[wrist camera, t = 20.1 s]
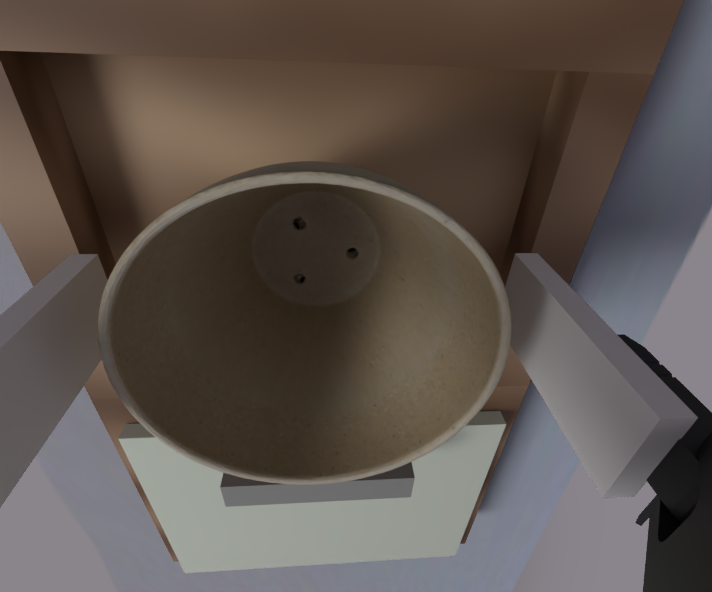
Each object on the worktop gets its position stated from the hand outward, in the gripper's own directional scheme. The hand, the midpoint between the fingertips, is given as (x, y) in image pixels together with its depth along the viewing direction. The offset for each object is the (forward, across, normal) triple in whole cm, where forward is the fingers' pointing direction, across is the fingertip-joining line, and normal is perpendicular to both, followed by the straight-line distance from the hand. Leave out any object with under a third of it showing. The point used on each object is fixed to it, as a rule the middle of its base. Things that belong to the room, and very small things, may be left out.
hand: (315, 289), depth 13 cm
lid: (+1, 0, -15) cm, 15 cm away
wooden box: (+4, 0, -7) cm, 8 cm away
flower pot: (+4, 0, 0) cm, 4 cm away
